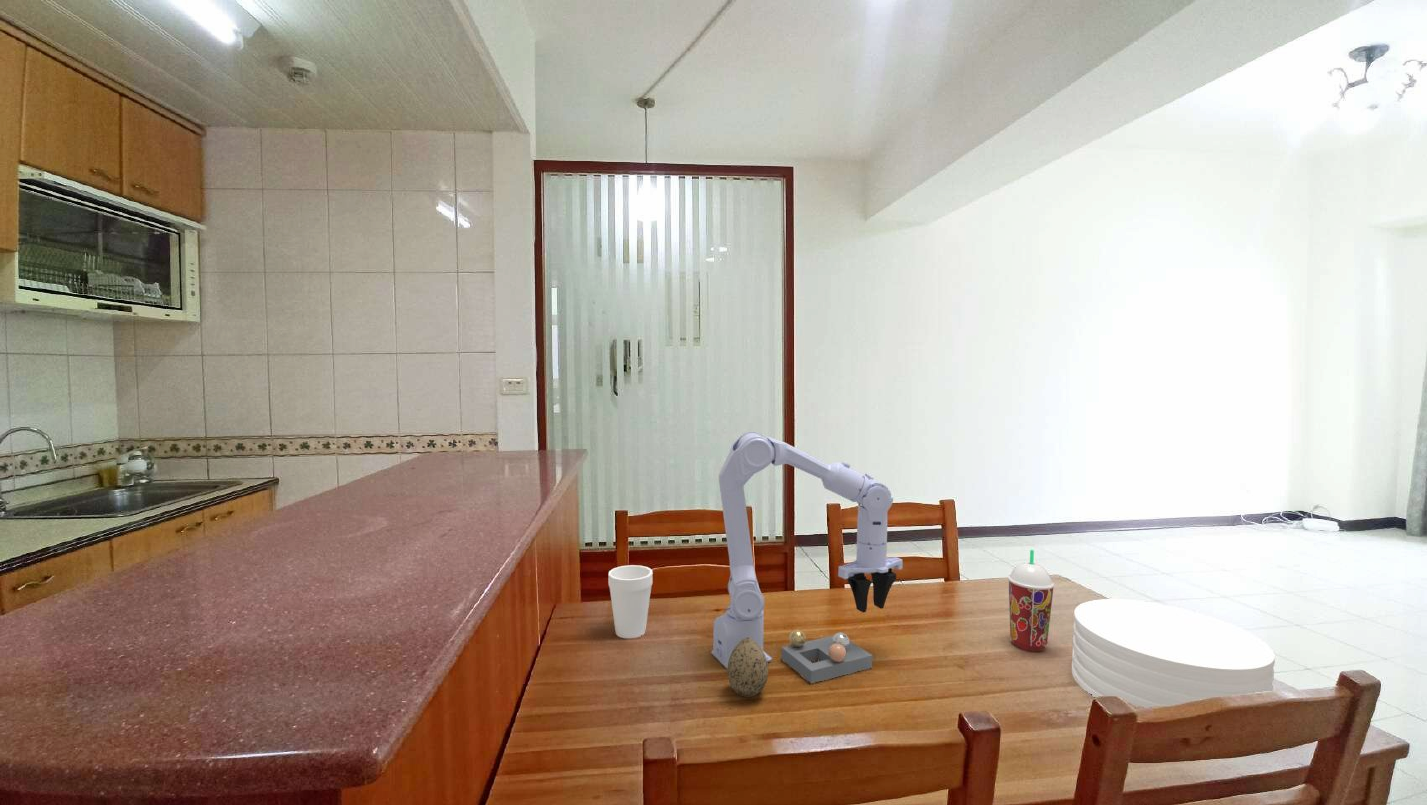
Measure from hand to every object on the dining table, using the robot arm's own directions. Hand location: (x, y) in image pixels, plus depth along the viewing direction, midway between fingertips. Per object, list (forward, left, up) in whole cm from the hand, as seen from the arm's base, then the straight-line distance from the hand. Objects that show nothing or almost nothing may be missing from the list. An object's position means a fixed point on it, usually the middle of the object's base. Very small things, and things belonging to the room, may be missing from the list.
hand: (870, 608), depth 118 cm
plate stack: (+39, -32, -10) cm, 52 cm away
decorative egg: (-29, -2, -10) cm, 31 cm away
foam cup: (-40, +30, -10) cm, 51 cm away
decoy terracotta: (-11, -4, -5) cm, 12 cm away
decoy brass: (-14, +4, -5) cm, 16 cm away
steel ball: (-7, 0, -5) cm, 9 cm away
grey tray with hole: (-10, 0, -9) cm, 14 cm away
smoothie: (+33, -10, -10) cm, 36 cm away
